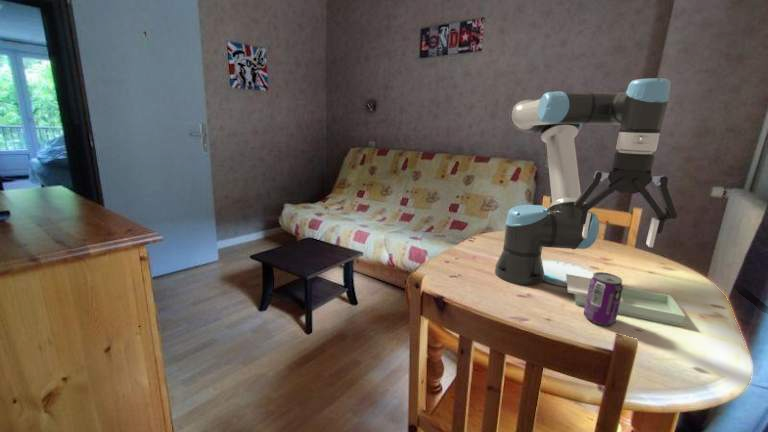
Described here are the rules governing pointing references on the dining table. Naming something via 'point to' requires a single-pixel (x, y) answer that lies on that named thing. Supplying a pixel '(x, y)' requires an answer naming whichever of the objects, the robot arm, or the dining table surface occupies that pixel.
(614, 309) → the beverage can
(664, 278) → the dining table surface
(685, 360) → the dining table surface
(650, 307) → the serving tray
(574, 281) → the lid
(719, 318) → the dining table surface
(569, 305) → the dining table surface
